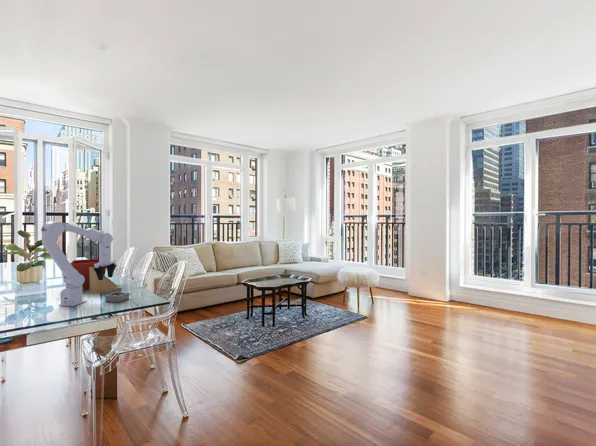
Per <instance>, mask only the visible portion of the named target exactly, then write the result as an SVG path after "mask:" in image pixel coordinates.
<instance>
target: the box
mask: <svg viewBox="0 0 596 446" xmlns="http://www.w3.org/2000/svg"><path fill="white" fill-rule="evenodd" d="M129 292H130V291H129ZM129 292H128V291H122V292H116V291H113V292H111V293H108V294H106V295H104V301H105V302H104V303H118V304H119V303H121V302H125V301H127V300H129V299H130V294H129Z"/></svg>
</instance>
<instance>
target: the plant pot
mask: <svg viewBox="0 0 596 446" xmlns="http://www.w3.org/2000/svg"><path fill="white" fill-rule="evenodd" d="M97 263H99V258H89V259H88V258H87V259H74V260H72V261H70V264H71V265H72V267H73V268H74V269H75V270H77V271H78V273H79V274H81V275H83V276H84V279H85V281H84V283H83V284H82V290H90V275H89V268H90V267H92V268H94V264H97ZM105 265H106V264H105ZM102 268H105V270H104V273H103V275H104V276H106V272H107V268H106V266H102Z"/></svg>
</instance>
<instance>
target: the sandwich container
mask: <svg viewBox="0 0 596 446" xmlns="http://www.w3.org/2000/svg"><path fill="white" fill-rule="evenodd" d="M89 275H90V289H89V292H90V293H92V294H96V295H97V294H103V293H108V292H107V291H109V292H112V291H111V290H115V291H116V288H117V287H120V286H118V284H116V283H114V282H113V281H112V280H111V279H109V277H108V276H106V275H105V276H104V275H103V280H98V277H97V274H96V272H95V270H94V269H93V268H92V267H90V268H89Z"/></svg>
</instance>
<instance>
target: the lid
mask: <svg viewBox="0 0 596 446" xmlns="http://www.w3.org/2000/svg"><path fill="white" fill-rule="evenodd" d="M115 292H123V290H122V287H121V286H119V287H117V288H116V290H115ZM131 293H132V292H130V291H129V295H131Z"/></svg>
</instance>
